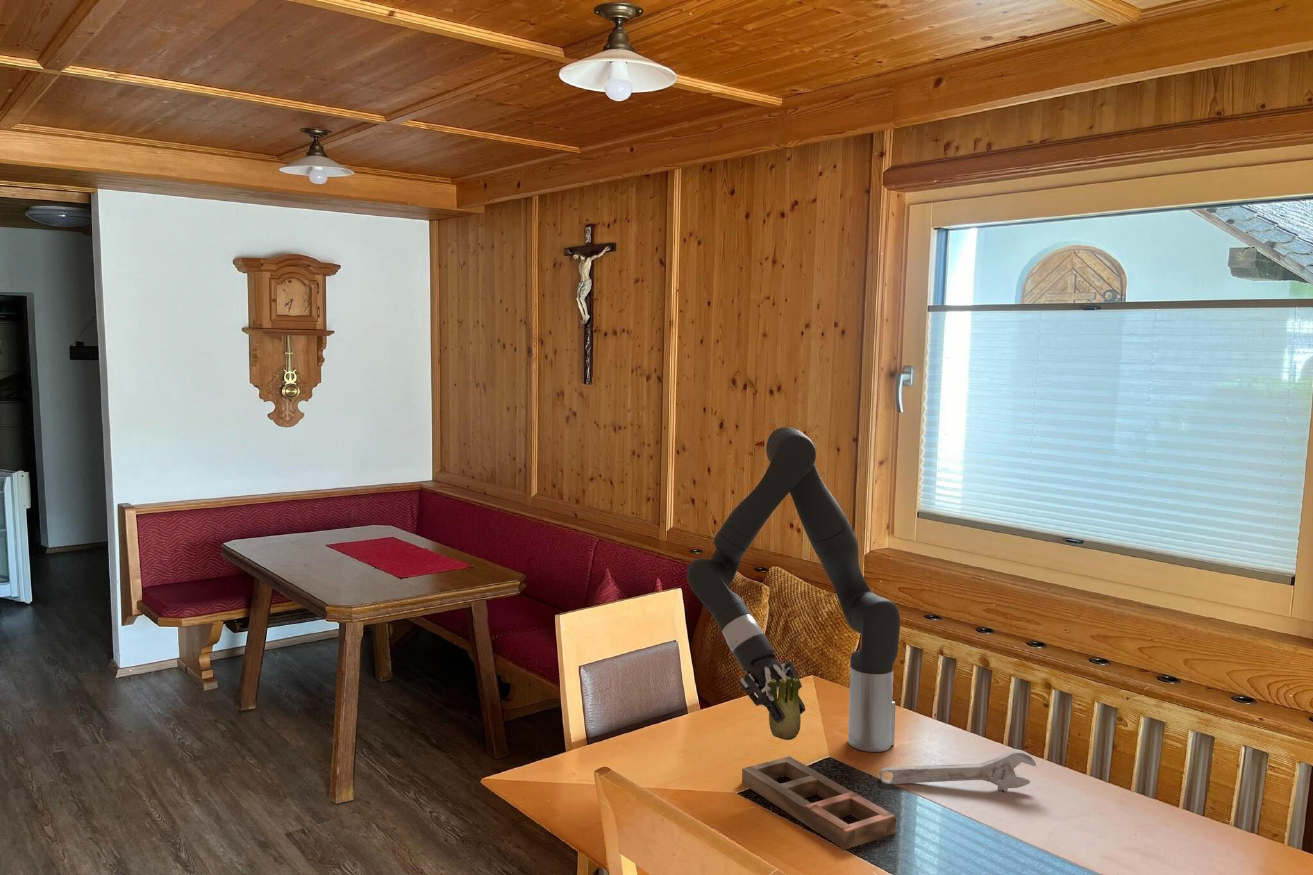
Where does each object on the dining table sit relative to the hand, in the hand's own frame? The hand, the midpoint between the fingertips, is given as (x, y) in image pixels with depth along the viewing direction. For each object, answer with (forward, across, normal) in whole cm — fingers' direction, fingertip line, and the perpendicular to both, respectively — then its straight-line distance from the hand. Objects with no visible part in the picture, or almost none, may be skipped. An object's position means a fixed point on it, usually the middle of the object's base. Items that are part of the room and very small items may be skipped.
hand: (791, 716), depth 185 cm
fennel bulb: (+2, 0, +5) cm, 5 cm away
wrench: (+25, +27, -3) cm, 37 cm away
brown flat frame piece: (+16, -2, +5) cm, 17 cm away
